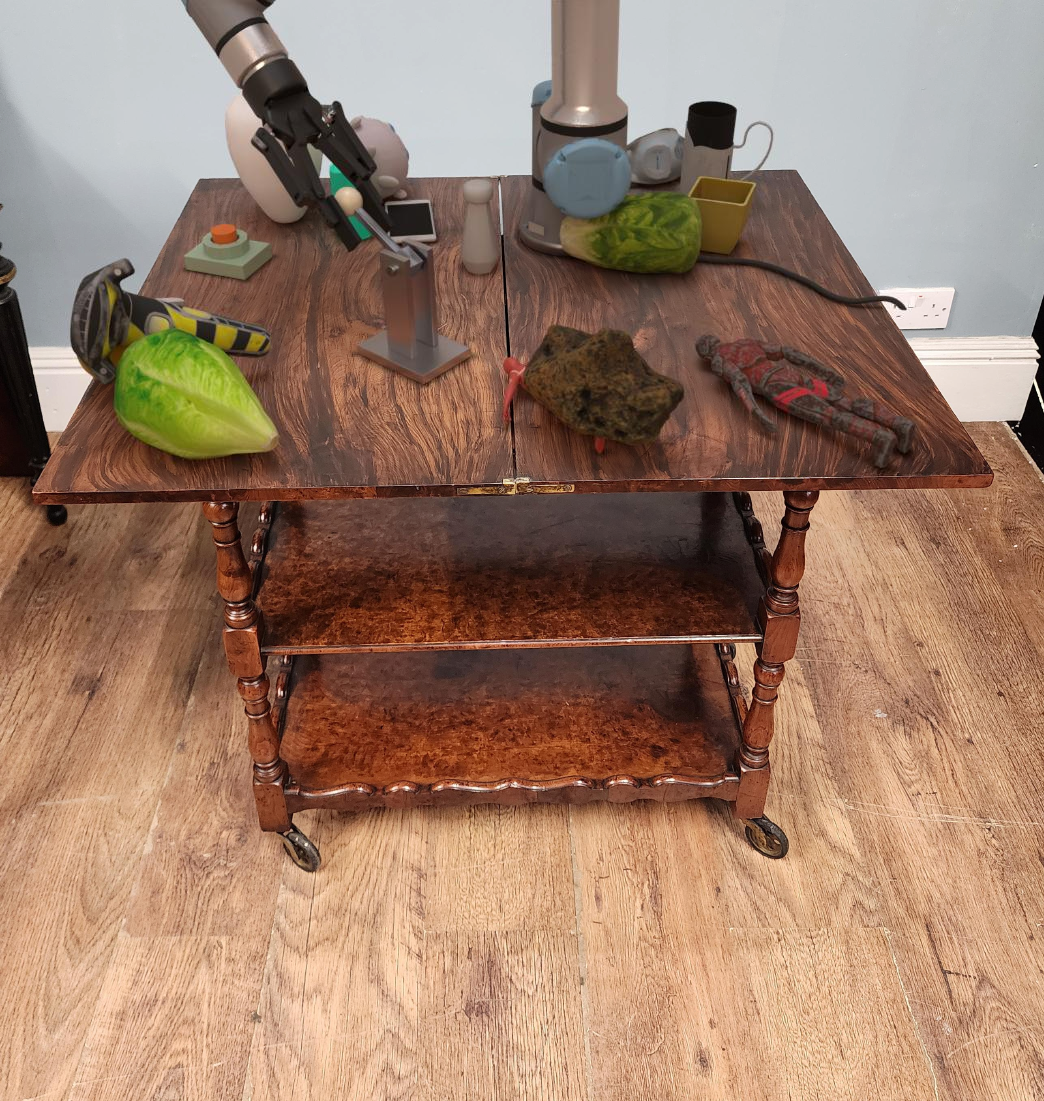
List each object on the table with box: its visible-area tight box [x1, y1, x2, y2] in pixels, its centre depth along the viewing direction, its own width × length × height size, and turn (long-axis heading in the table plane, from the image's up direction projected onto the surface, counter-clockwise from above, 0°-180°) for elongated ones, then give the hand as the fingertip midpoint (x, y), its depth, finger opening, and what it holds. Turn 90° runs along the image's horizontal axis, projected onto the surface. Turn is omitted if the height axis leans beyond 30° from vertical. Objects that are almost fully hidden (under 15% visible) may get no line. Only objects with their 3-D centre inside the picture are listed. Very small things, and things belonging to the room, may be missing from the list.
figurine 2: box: [695, 333, 917, 469], centre depth 131 cm, size 14×5×30 cm
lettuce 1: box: [113, 328, 280, 461], centre depth 123 cm, size 14×20×12 cm
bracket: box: [356, 238, 472, 386], centre depth 137 cm, size 12×9×15 cm
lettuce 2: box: [559, 190, 702, 276], centre depth 157 cm, size 12×21×11 cm, turn 86°
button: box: [210, 223, 238, 245], centre depth 159 cm, size 4×4×2 cm
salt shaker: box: [459, 178, 500, 276], centre depth 156 cm, size 6×6×13 cm
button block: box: [183, 228, 273, 281], centre depth 161 cm, size 10×8×4 cm
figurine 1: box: [502, 356, 606, 454], centre depth 131 cm, size 16×4×20 cm
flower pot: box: [688, 176, 757, 255], centre depth 163 cm, size 9×9×9 cm
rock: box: [522, 324, 685, 446], centre depth 122 cm, size 13×12×20 cm
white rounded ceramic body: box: [627, 127, 685, 185], centre depth 183 cm, size 9×19×10 cm
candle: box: [328, 163, 373, 240], centre depth 166 cm, size 6×6×12 cm
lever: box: [334, 187, 423, 277], centre depth 134 cm, size 14×4×4 cm, turn 50°
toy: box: [349, 115, 410, 200], centre depth 176 cm, size 14×12×15 cm
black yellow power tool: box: [69, 257, 272, 385], centre depth 126 cm, size 14×26×10 cm
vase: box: [224, 29, 324, 224], centre depth 164 cm, size 14×14×28 cm
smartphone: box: [384, 199, 438, 245], centre depth 172 cm, size 8×1×15 cm
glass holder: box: [678, 100, 774, 195], centre depth 172 cm, size 9×14×15 cm, turn 74°
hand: (371, 238), depth 135 cm, fingers open, 5 cm apart
